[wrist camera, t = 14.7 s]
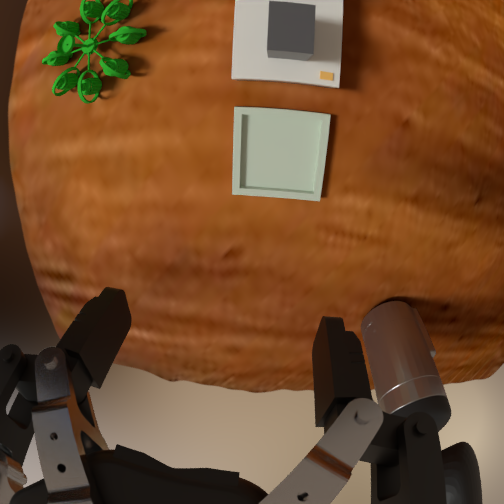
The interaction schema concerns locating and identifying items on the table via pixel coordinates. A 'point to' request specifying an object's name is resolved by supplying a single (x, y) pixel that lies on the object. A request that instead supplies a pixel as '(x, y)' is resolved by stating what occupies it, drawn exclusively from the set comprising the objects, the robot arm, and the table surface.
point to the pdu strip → (286, 69)
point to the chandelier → (91, 48)
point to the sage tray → (279, 152)
